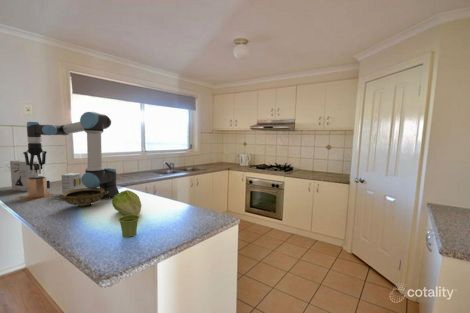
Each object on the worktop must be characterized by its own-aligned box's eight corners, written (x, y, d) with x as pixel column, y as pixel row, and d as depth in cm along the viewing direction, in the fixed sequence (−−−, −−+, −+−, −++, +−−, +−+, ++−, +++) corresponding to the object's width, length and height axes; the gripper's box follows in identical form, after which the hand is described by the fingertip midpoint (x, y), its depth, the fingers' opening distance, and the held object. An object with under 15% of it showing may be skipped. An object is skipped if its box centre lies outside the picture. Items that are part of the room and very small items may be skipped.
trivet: (57, 197, 173) (57, 195, 173) (27, 202, 157) (26, 201, 157) (47, 193, 182) (47, 192, 182) (17, 198, 166) (17, 197, 166)
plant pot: (142, 230, 116) (142, 214, 115) (135, 239, 106) (134, 221, 105) (124, 230, 115) (123, 214, 115) (115, 239, 106) (114, 221, 105)
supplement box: (73, 196, 176) (72, 175, 175) (61, 195, 177) (60, 174, 175) (81, 193, 186) (81, 173, 184) (71, 192, 186) (70, 172, 185)
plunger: (45, 194, 171) (43, 163, 168) (33, 196, 164) (31, 164, 162) (41, 192, 174) (39, 162, 172) (29, 194, 168) (27, 163, 166)
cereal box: (11, 189, 193) (9, 160, 191) (22, 187, 200) (20, 159, 198) (29, 191, 187) (27, 162, 184) (39, 189, 194) (37, 161, 192)
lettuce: (119, 212, 124) (143, 195, 132) (105, 197, 140) (127, 183, 148) (131, 229, 131) (153, 212, 139) (117, 213, 147) (137, 198, 155)
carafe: (52, 195, 173) (51, 176, 172) (31, 199, 163) (30, 178, 161) (47, 193, 178) (46, 175, 177) (26, 196, 168) (25, 177, 166)
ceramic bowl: (60, 215, 135) (59, 199, 134) (54, 206, 151) (53, 191, 151) (114, 205, 156) (114, 191, 155) (104, 198, 173) (103, 185, 172)
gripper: (46, 142, 175) (47, 172, 177) (18, 142, 161) (20, 175, 163) (50, 142, 171) (51, 173, 173) (22, 143, 157) (24, 176, 159)
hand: (36, 174), depth 168 cm, fingers closed on plunger, 3 cm apart
